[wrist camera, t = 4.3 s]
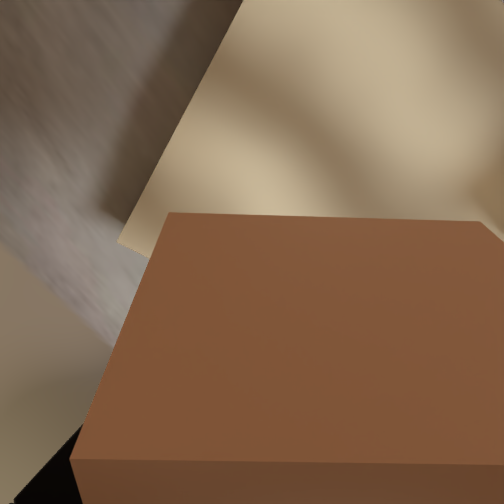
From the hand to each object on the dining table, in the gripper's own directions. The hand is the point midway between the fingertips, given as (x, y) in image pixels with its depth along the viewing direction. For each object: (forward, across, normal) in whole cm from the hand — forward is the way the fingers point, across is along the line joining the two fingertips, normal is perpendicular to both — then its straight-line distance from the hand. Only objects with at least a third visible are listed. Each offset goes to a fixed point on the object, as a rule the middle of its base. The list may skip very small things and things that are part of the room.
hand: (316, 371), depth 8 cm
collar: (+1, 0, 0) cm, 1 cm away
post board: (+10, -6, +1) cm, 11 cm away
